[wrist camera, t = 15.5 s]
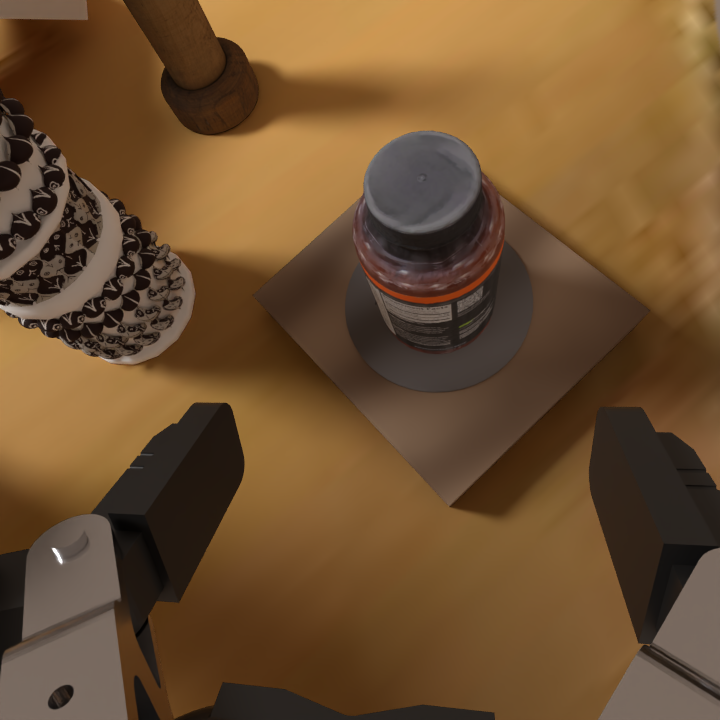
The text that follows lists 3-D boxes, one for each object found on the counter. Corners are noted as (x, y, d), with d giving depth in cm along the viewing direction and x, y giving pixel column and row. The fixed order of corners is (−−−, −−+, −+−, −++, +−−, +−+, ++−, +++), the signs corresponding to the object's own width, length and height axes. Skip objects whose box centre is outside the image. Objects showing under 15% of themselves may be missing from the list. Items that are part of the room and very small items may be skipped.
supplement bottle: (412, 239, 29) (385, 82, 19) (513, 278, 28) (545, 130, 17) (362, 330, 28) (304, 219, 18) (463, 377, 27) (466, 284, 16)
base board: (267, 311, 33) (251, 294, 30) (428, 164, 34) (425, 136, 31) (450, 507, 28) (448, 506, 25) (634, 327, 29) (651, 309, 26)
